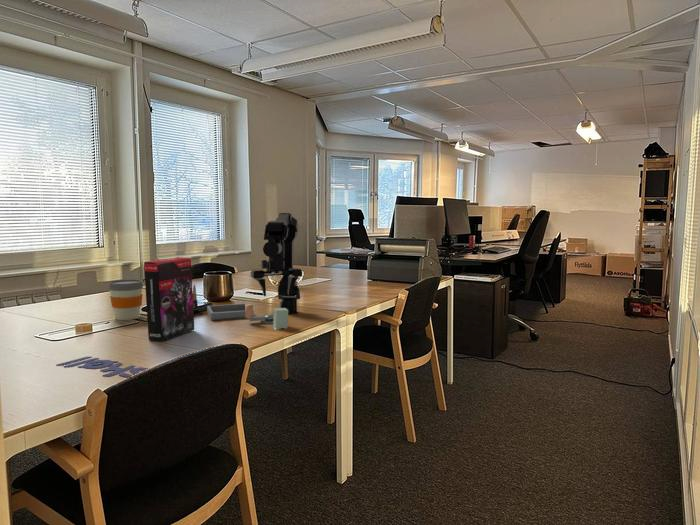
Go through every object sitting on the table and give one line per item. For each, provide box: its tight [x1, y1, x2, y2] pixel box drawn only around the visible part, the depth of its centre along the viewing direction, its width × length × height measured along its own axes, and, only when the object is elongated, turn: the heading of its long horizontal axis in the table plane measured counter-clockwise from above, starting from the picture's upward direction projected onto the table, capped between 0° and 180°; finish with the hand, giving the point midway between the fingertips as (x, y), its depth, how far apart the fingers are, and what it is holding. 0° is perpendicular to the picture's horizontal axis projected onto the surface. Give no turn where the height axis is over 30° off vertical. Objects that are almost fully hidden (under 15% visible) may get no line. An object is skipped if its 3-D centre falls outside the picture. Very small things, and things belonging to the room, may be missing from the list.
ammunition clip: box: [192, 283, 199, 308], centre depth 206 cm, size 11×2×12 cm, turn 143°
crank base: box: [260, 320, 277, 331], centre depth 187 cm, size 7×16×1 cm, turn 22°
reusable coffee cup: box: [108, 278, 144, 321], centre depth 196 cm, size 13×13×15 cm
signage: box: [55, 356, 149, 379], centre depth 135 cm, size 28×1×10 cm
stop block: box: [272, 307, 289, 330], centre depth 183 cm, size 4×4×7 cm
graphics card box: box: [143, 256, 195, 342], centre depth 169 cm, size 17×7×27 cm, turn 159°
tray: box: [206, 302, 248, 322], centre depth 203 cm, size 17×16×3 cm
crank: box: [244, 303, 274, 322], centre depth 190 cm, size 12×4×6 cm, turn 112°
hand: (276, 295), depth 182 cm, fingers open, 9 cm apart
